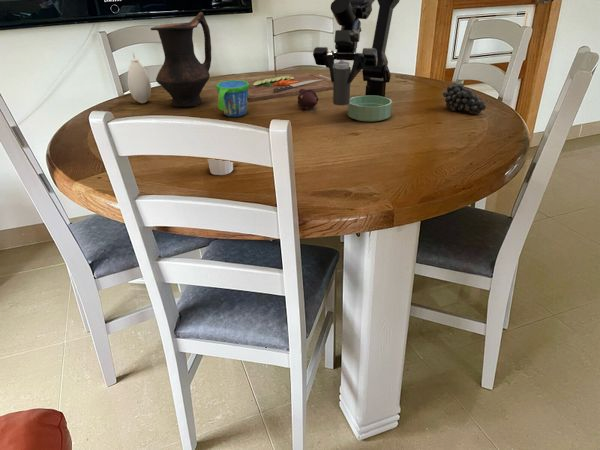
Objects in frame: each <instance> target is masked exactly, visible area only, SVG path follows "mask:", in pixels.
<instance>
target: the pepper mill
mask: <svg viewBox="0 0 600 450" xmlns="http://www.w3.org/2000/svg"><path fill="white" fill-rule="evenodd" d="M334 63H335V67H334V69H333V89H332V104H333V105H335V106H348V104H349V103H350V98H351V83H349V78H350V73H351V70H352V66H350V62H348V61H345V60H339V61H338V62H337V61H336V62H334Z"/></svg>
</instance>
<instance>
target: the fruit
mask: <svg viewBox="0 0 600 450" xmlns="http://www.w3.org/2000/svg"><path fill="white" fill-rule="evenodd" d="M442 97H444V102H445V106H446V107H447V108H450V110H451V112H456V111H458V112H462V111H466V112H470V114H471V115H475V114H480V113H482V111H485V110H486V109H487V105H486V103H485V101H483V99H481V98H480V97H479V96H477V95H476V94H475V93H473V90H472V89H470V88H469V89H467V88H466V87H464V84H463V83H458V82H455V83H453V84H452V85H448V86H447V88H446V91H444V92H443V93H442Z"/></svg>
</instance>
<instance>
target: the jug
mask: <svg viewBox="0 0 600 450" xmlns="http://www.w3.org/2000/svg"><path fill="white" fill-rule="evenodd" d="M199 24H200V25H201V28H202V31H203V39H204V62H202V63H201V62H200V60H198V58H197V56H196V54H195V47H194V40H193V37H194V35H193V33H194V29H195V28H197V27H198V26H199ZM150 31H157V32H158V36H159V39H160V42H161V46H162V50H163V54H164V61H163V64H162V65H161V67H160V69H159V71H158V73H157V75H156V78H155V81H156V83H157V84H158V85H160V86H161V87H162V88H163V90H165V91H166V92H167V93H168V94H169V95H170V97H171V98H172V99H171V106H172V107H177V108H183V107H186V108H187V107H195V106H199V105H201V104H203V99H202V97H201V93H202V91H203V89H204V88H205V86H206V84H207V83H208V81H209V79H210V76H211V74H210V69H211V65H212V40H211V39H212V38H211V31H210V26H209V24H208V22H207V20H206V18H205V14H204V13H203V12H202V11H200V12H199V13H197V15H196V16H195V17H194V18H193V19H191V20H190V21H189V22H177V23H176V22H175V23H166V24H160V25H157V26H152V27H150Z"/></svg>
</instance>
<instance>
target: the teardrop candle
mask: <svg viewBox="0 0 600 450" xmlns="http://www.w3.org/2000/svg"><path fill="white" fill-rule="evenodd" d="M128 66H129V67H128V70H127V86H128V90H129V93H130V95H131V96H132V98H133V100H135V101H137V103H140V104H145V103H146V102H148V100H149V99H150V98H151V95H152V84H151V81H150V76H149V75H148V72H147V70H146V69H145V67H144V65H142V63H141V62H140V60H139V59H138V58H136V56H135V52H134V51H132V59H130V63H129V65H128Z"/></svg>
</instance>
